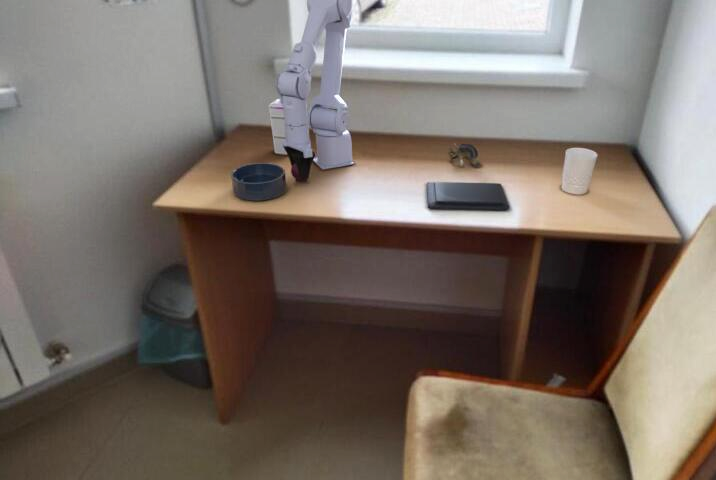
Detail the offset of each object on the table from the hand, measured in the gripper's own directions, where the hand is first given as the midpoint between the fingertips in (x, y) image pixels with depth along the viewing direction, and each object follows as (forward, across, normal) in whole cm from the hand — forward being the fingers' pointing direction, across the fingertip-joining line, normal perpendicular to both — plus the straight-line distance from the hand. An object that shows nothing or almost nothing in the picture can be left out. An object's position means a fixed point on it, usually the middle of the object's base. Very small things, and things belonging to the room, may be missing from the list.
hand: (301, 175), depth 144 cm
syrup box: (+3, -24, +4) cm, 24 cm away
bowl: (+2, 0, -11) cm, 11 cm away
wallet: (+3, +26, +34) cm, 43 cm away
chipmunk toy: (+3, +7, +46) cm, 47 cm away
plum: (+1, 0, 0) cm, 1 cm away
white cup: (+3, +34, +63) cm, 72 cm away
